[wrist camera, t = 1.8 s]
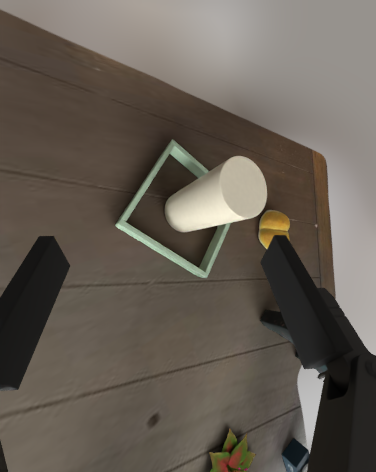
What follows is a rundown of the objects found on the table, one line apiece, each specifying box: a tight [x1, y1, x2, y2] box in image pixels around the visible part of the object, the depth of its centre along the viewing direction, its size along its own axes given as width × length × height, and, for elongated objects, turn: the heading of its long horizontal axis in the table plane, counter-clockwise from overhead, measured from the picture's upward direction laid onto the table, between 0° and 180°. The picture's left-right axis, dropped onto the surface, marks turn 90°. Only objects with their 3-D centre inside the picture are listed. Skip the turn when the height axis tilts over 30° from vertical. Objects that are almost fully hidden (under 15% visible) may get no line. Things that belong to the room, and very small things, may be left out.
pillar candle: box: [164, 156, 267, 232], centre depth 29 cm, size 7×7×15 cm
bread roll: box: [258, 210, 290, 249], centre depth 44 cm, size 8×9×4 cm
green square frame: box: [115, 140, 231, 278], centre depth 34 cm, size 17×17×2 cm
